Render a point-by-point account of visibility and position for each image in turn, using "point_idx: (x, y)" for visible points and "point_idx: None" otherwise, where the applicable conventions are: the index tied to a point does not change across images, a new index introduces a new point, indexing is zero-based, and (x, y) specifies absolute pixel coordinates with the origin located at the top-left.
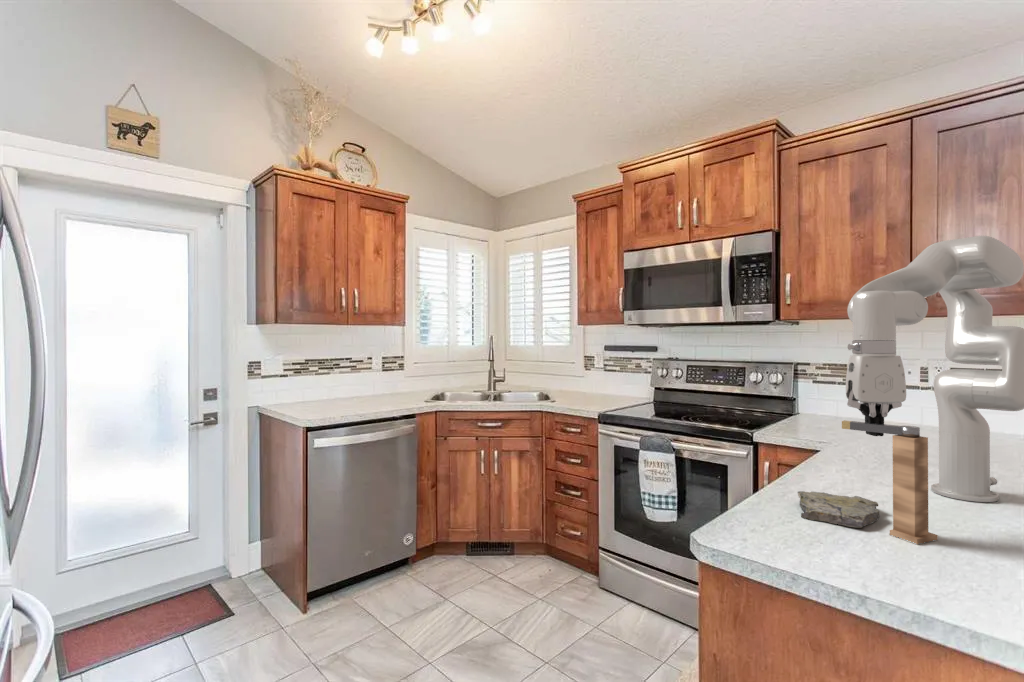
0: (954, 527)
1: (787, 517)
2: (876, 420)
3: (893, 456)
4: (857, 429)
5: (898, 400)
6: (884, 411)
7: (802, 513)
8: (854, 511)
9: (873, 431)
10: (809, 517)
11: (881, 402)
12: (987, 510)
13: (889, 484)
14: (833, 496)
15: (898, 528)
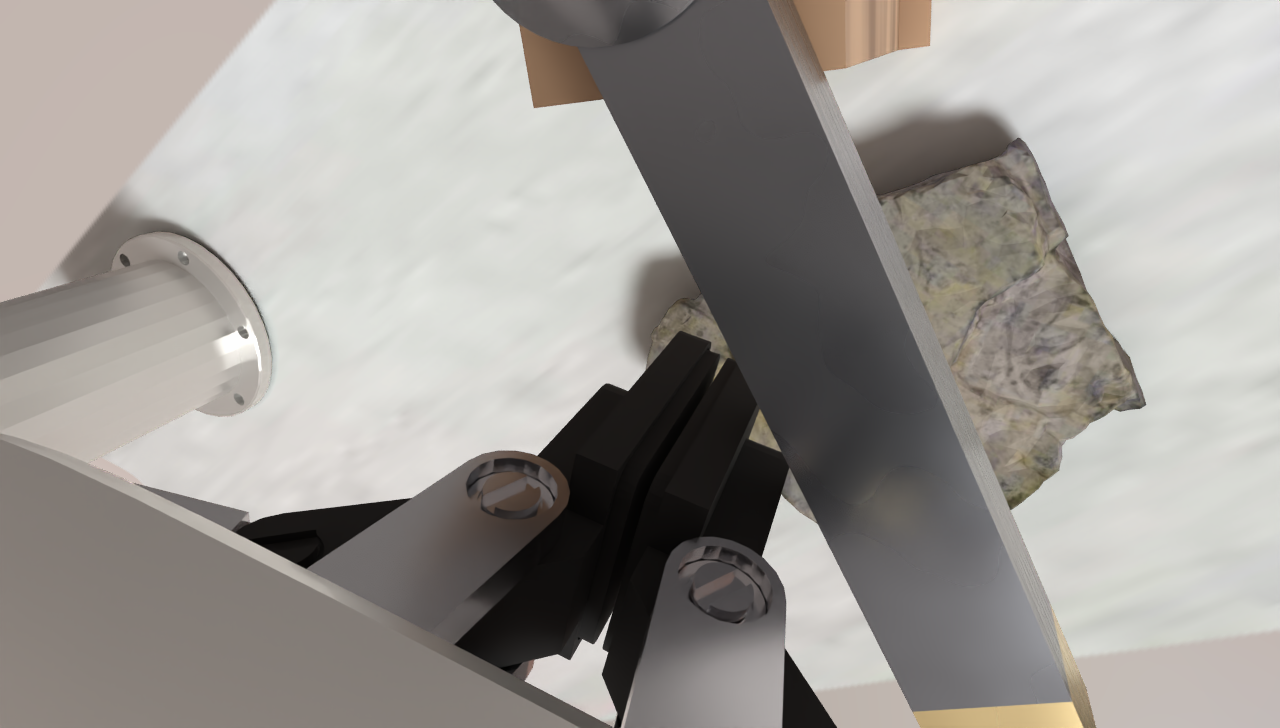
0: (514, 54)
1: (1213, 428)
2: (721, 473)
3: (869, 50)
4: (1013, 530)
5: (9, 476)
6: (477, 526)
7: (1141, 402)
8: (962, 238)
9: (932, 338)
10: (1128, 364)
11: (532, 690)
12: (241, 177)
13: (345, 499)
14: None
15: (898, 17)
